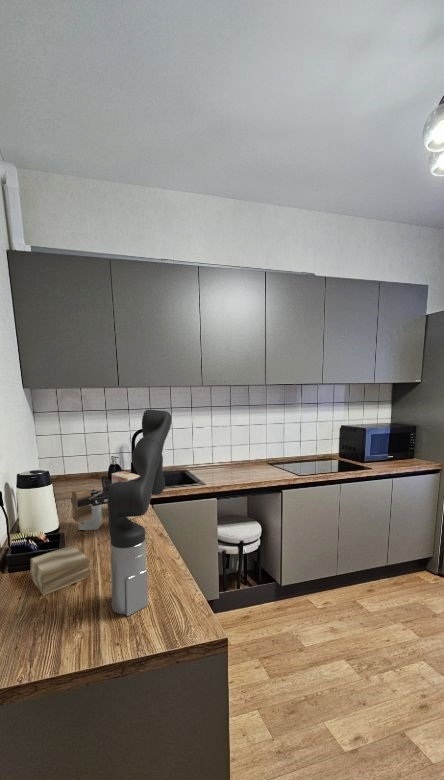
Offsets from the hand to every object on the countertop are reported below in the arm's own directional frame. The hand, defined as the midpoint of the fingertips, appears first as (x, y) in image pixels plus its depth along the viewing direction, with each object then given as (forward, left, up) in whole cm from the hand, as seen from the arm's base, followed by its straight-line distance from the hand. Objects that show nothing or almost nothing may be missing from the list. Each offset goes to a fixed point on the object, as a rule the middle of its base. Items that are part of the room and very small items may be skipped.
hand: (74, 502), depth 118 cm
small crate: (0, -3, -7) cm, 7 cm away
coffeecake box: (+22, -32, -19) cm, 43 cm away
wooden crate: (-12, +9, -19) cm, 24 cm away
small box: (+20, -14, -19) cm, 31 cm away
